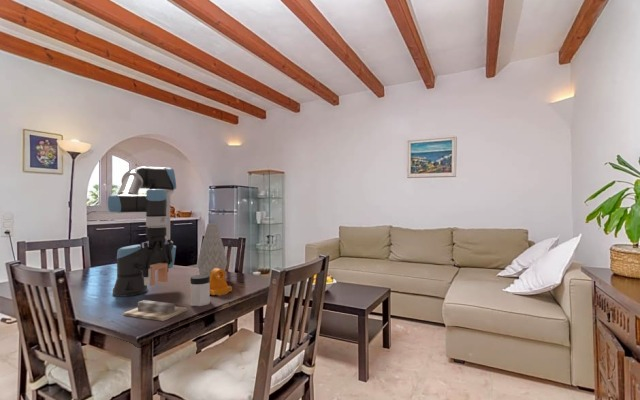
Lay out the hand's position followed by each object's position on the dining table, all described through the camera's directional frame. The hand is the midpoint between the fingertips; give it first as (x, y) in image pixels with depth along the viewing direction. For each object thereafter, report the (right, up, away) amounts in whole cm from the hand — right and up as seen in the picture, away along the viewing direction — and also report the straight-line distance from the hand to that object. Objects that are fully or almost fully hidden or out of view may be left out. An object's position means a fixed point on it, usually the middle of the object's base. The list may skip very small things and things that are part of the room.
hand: (156, 282), depth 135 cm
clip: (0, 0, 0) cm, 0 cm away
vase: (+6, -13, +53) cm, 55 cm away
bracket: (+17, -13, +29) cm, 36 cm away
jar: (+13, -13, +13) cm, 22 cm away
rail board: (0, -12, 0) cm, 12 cm away
